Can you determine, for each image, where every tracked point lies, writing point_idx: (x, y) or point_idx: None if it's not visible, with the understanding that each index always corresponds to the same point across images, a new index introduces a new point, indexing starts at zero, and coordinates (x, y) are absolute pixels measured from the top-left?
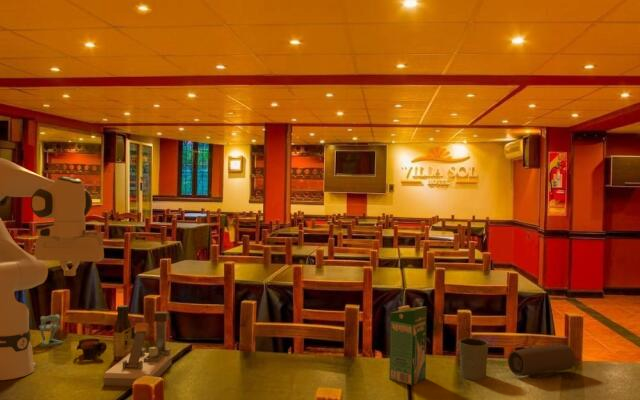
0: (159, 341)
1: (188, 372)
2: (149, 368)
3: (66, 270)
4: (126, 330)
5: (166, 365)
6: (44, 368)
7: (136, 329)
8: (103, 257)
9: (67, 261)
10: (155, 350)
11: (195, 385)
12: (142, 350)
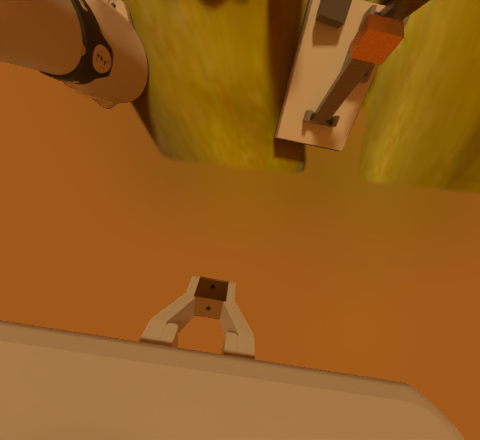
0: (397, 11)
1: (404, 84)
2: (345, 121)
3: (199, 315)
4: None
5: None
6: (153, 31)
7: (359, 53)
8: (440, 419)
9: (174, 341)
10: (373, 64)
11: (397, 151)
12: (344, 20)
